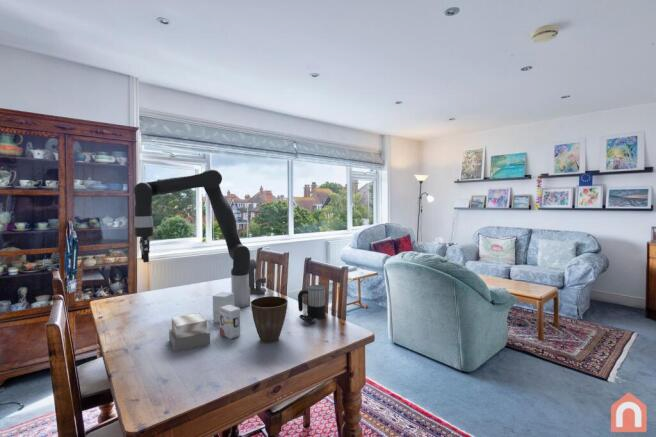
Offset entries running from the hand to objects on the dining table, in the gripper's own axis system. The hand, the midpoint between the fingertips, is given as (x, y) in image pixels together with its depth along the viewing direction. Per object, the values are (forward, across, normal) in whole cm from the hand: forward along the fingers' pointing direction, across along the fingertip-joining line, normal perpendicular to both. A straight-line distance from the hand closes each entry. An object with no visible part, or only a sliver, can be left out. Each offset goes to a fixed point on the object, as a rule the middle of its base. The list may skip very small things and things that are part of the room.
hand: (145, 260), depth 155 cm
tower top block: (+25, -34, -12) cm, 44 cm away
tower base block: (+30, -34, -12) cm, 47 cm away
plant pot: (+30, -50, -40) cm, 70 cm away
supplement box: (+30, -17, -31) cm, 46 cm away
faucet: (+30, +24, -61) cm, 72 cm away
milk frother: (+30, -40, -67) cm, 83 cm away
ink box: (+30, -36, -28) cm, 54 cm away
